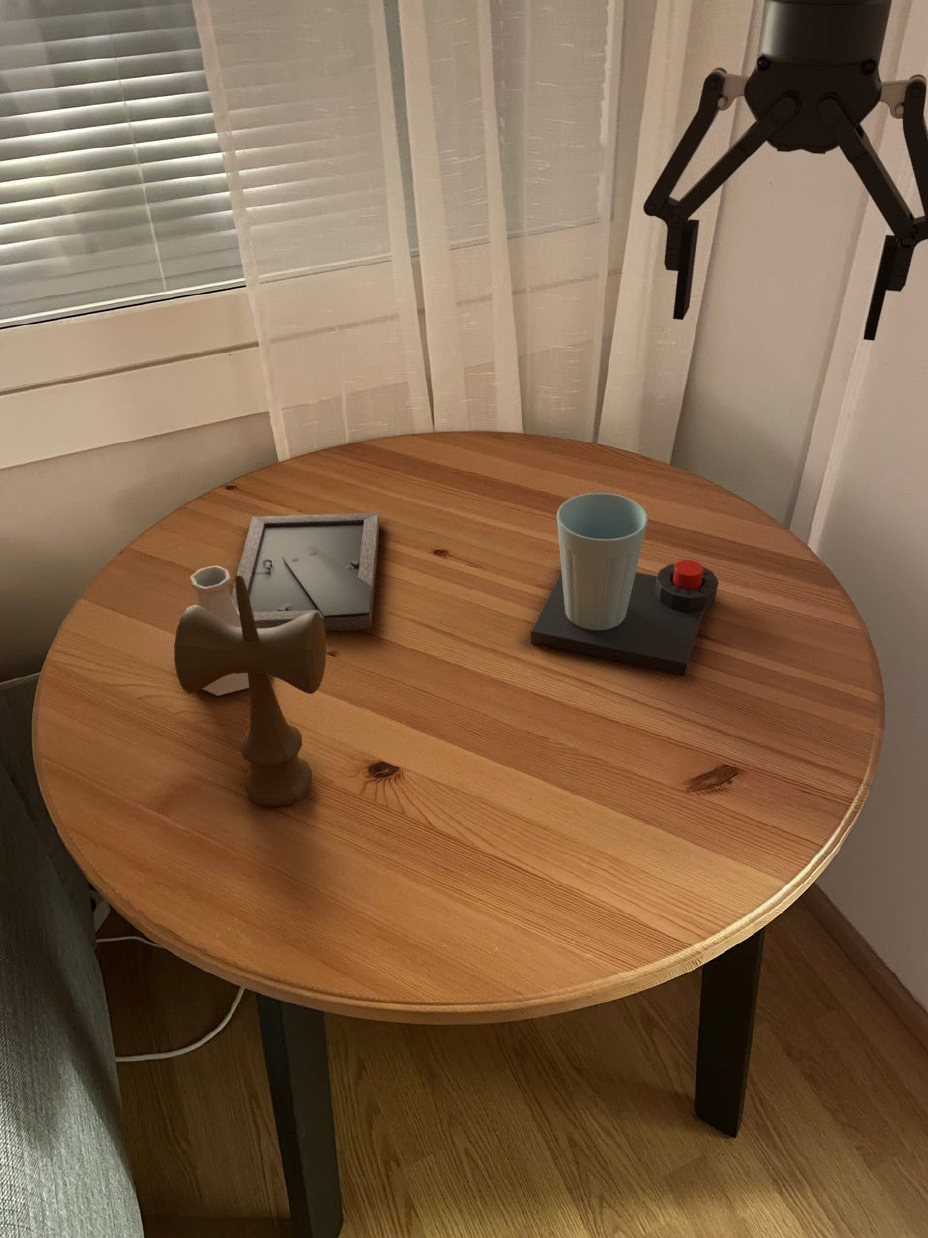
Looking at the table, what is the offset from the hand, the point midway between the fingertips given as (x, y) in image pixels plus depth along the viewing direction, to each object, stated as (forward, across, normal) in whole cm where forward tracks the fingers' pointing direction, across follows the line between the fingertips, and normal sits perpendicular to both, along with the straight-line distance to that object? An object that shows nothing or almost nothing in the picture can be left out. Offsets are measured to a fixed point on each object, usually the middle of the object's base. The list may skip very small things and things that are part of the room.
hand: (772, 323), depth 74 cm
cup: (+27, +11, +3) cm, 30 cm away
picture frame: (+29, +40, +5) cm, 49 cm away
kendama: (+29, +29, +31) cm, 51 cm away
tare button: (+26, +4, -2) cm, 26 cm away
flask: (+29, +40, +20) cm, 53 cm away
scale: (+29, +9, +2) cm, 30 cm away
